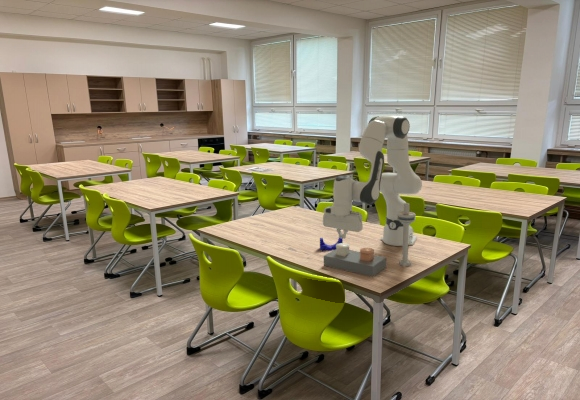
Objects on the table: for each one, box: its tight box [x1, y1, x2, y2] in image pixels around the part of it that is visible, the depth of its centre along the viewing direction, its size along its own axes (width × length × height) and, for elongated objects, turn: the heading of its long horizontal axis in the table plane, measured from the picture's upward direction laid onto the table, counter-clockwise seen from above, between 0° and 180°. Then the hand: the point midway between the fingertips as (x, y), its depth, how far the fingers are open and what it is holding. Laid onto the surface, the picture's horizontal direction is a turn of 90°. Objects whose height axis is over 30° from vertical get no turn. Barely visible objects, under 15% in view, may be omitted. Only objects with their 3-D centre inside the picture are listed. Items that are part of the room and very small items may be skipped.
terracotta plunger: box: [359, 247, 375, 262], centre depth 192 cm, size 6×6×6 cm
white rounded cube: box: [335, 242, 350, 257], centre depth 200 cm, size 6×6×6 cm
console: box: [323, 249, 387, 278], centre depth 197 cm, size 14×26×5 cm, turn 53°
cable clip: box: [319, 237, 344, 252], centre depth 223 cm, size 12×4×6 cm, turn 93°
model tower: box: [397, 202, 416, 268], centre depth 195 cm, size 8×8×30 cm
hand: (342, 237), depth 198 cm, fingers closed
